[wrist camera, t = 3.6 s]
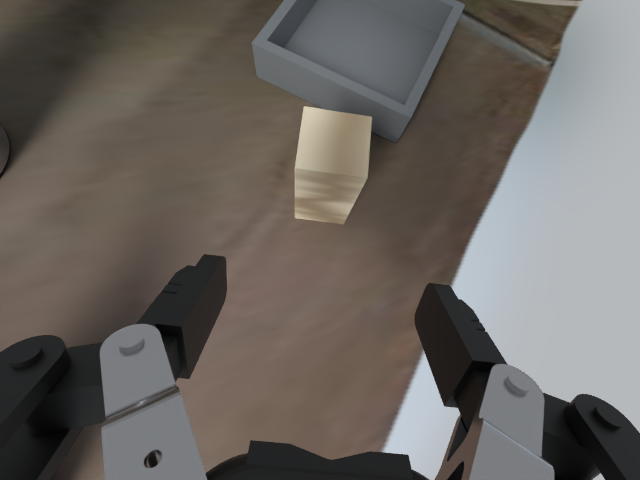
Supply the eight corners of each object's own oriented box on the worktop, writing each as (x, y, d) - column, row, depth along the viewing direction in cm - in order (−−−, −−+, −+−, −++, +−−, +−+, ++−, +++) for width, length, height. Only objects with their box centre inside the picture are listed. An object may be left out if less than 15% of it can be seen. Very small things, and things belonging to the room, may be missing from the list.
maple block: (294, 217, 26) (294, 167, 17) (301, 173, 27) (303, 106, 18) (343, 224, 26) (367, 178, 17) (347, 180, 27) (372, 116, 19)
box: (257, 76, 29) (251, 43, 26) (324, -17, 34) (327, -58, 30) (396, 143, 29) (410, 118, 25) (446, 39, 33) (465, 4, 29)
